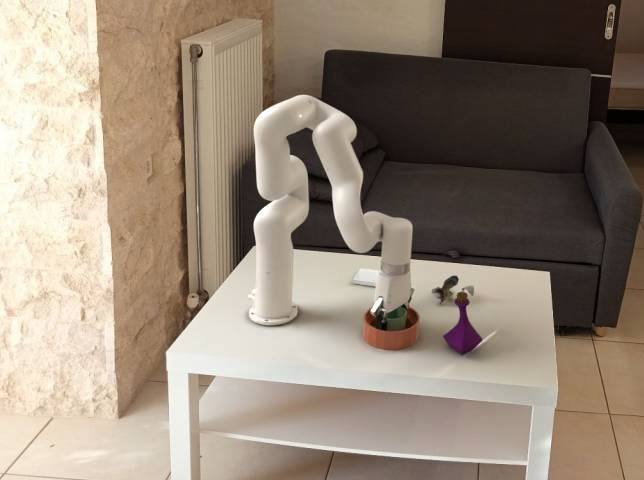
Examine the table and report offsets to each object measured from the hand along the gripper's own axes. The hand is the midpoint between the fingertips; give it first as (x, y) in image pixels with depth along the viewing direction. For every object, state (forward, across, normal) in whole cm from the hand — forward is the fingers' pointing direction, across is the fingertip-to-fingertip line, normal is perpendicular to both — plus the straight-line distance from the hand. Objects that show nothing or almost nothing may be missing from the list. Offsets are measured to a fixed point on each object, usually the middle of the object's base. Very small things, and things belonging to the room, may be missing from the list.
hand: (391, 327), depth 191 cm
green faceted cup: (+2, 0, 0) cm, 2 cm away
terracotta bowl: (+3, 0, 0) cm, 3 cm away
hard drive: (+3, -21, -23) cm, 31 cm away
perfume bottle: (+3, -7, +18) cm, 20 cm away
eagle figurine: (+3, -26, -1) cm, 26 cm away
